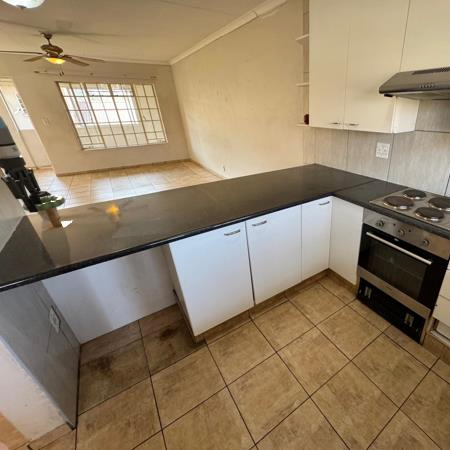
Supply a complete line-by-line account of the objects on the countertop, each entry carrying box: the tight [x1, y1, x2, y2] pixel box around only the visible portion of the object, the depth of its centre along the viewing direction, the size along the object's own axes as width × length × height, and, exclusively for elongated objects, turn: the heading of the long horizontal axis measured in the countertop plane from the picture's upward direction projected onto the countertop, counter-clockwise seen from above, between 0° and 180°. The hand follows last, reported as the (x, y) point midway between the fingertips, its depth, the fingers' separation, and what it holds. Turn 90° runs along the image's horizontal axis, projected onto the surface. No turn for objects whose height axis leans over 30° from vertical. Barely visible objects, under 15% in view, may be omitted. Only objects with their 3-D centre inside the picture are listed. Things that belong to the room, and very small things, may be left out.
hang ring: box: [22, 195, 66, 212], centre depth 113 cm, size 14×14×3 cm
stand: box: [40, 208, 73, 232], centre depth 121 cm, size 9×9×14 cm
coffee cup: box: [28, 190, 60, 222], centre depth 131 cm, size 9×9×15 cm
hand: (37, 210), depth 109 cm, fingers closed on hang ring, 3 cm apart
